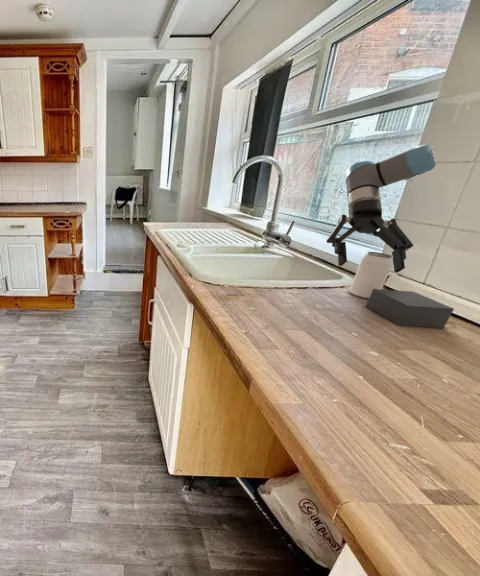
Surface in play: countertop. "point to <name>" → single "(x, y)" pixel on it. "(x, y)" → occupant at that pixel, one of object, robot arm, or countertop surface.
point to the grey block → (409, 308)
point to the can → (371, 274)
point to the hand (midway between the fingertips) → (370, 266)
